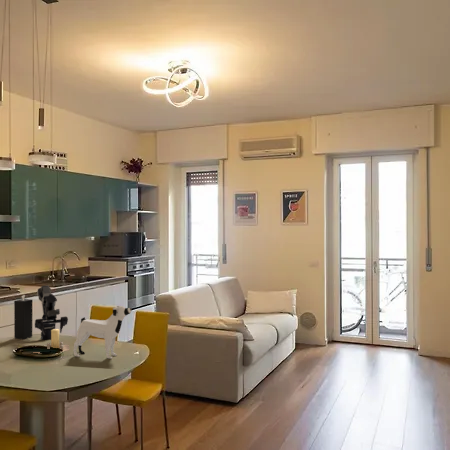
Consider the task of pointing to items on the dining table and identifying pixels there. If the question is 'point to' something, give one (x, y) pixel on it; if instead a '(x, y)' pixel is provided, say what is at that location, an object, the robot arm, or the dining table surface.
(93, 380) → the dining table surface
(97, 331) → the decorative sculpture
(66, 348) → the board
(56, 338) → the post
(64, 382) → the dining table surface
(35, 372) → the dining table surface
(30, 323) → the black square column
